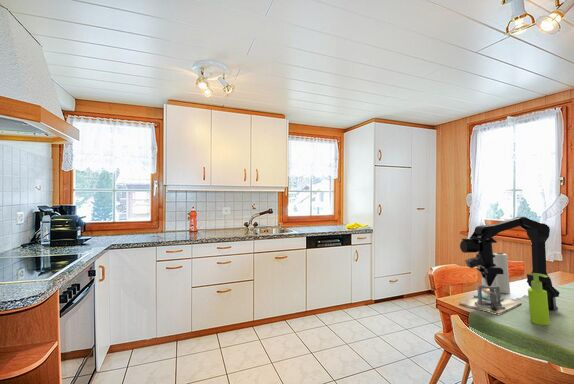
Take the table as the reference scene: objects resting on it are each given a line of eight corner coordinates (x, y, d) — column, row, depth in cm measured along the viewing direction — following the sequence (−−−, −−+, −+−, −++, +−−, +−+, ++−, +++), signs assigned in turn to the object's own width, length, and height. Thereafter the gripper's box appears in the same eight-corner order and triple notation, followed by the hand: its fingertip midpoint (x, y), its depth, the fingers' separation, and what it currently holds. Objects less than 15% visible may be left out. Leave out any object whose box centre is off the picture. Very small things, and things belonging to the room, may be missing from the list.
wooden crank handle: (495, 296, 143) (494, 282, 143) (497, 311, 124) (496, 294, 125) (480, 295, 146) (479, 281, 147) (480, 308, 128) (479, 292, 128)
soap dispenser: (548, 327, 108) (543, 276, 110) (527, 321, 115) (523, 272, 116) (556, 324, 111) (551, 274, 112) (535, 318, 117) (531, 271, 118)
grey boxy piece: (501, 306, 127) (499, 278, 128) (481, 305, 129) (479, 278, 130) (497, 303, 131) (495, 276, 132) (477, 302, 133) (475, 276, 134)
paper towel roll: (512, 294, 149) (508, 254, 151) (499, 293, 151) (495, 254, 153) (506, 290, 156) (503, 252, 158) (493, 289, 158) (490, 252, 160)
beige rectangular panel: (521, 304, 134) (521, 300, 134) (499, 315, 121) (498, 310, 122) (482, 295, 148) (482, 292, 148) (458, 304, 136) (458, 300, 136)
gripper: (459, 249, 143) (461, 279, 142) (474, 255, 125) (477, 290, 124) (484, 249, 140) (486, 280, 139) (502, 255, 122) (505, 291, 121)
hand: (488, 285), depth 131 cm, fingers closed on grey boxy piece, 2 cm apart
